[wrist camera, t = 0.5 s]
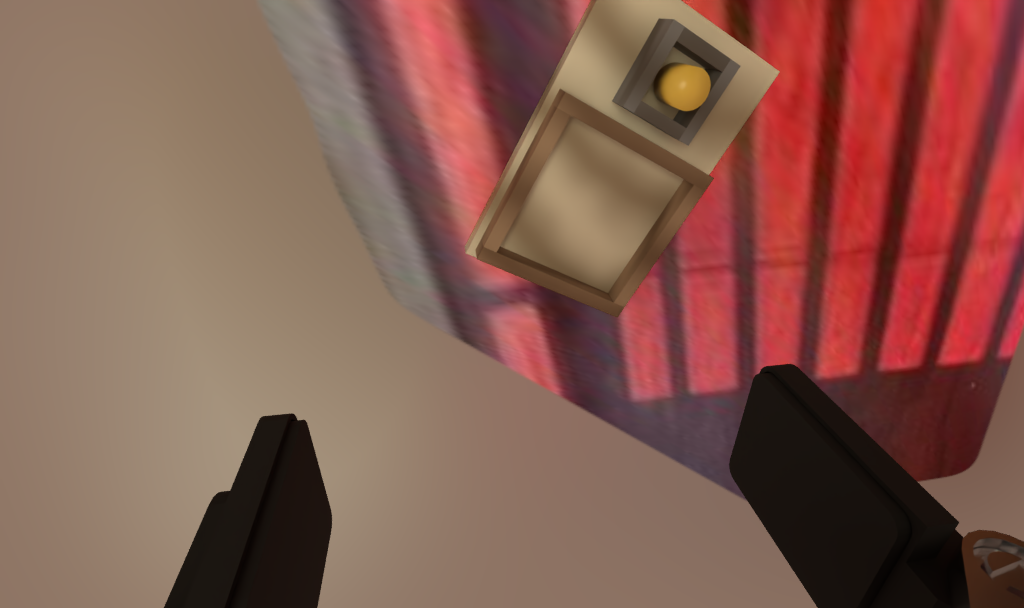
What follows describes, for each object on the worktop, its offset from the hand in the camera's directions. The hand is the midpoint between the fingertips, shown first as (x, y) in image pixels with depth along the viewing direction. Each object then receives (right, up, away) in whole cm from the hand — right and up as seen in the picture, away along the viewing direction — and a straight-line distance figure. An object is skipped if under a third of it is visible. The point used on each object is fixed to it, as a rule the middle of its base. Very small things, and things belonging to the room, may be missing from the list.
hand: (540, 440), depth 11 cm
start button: (+9, +17, +21) cm, 28 cm away
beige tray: (+6, +13, +25) cm, 29 cm away
